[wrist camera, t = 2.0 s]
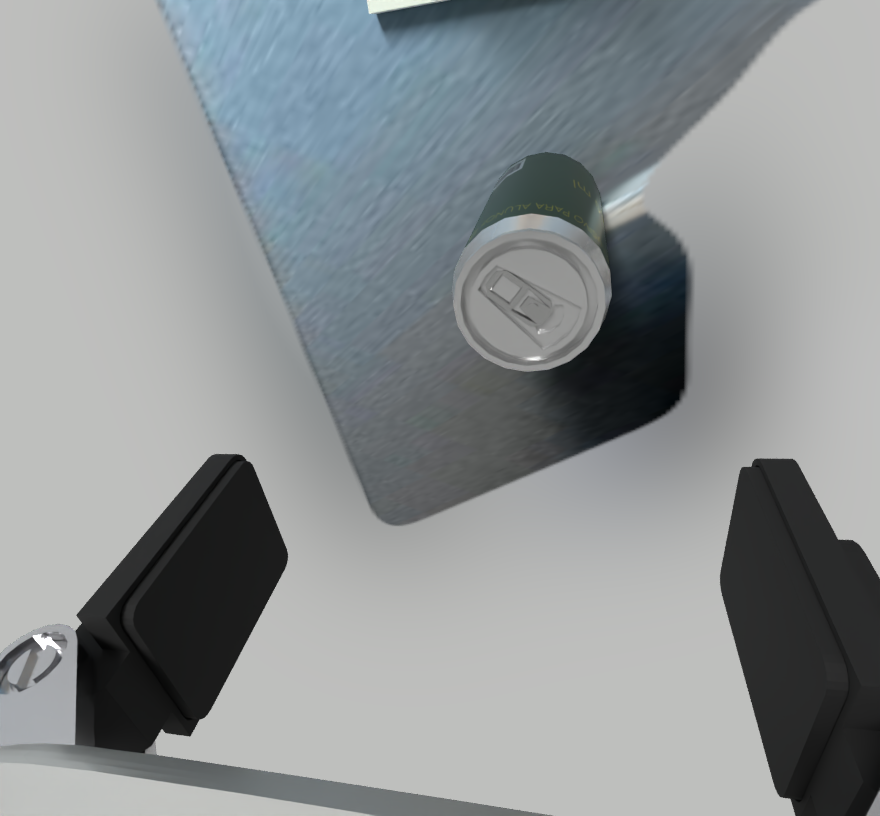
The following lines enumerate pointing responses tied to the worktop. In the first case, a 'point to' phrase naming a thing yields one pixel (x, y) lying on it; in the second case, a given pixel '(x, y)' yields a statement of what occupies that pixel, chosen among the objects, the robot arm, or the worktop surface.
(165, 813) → the robot arm
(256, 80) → the worktop surface
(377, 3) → the board
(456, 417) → the worktop surface
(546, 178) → the beer can
